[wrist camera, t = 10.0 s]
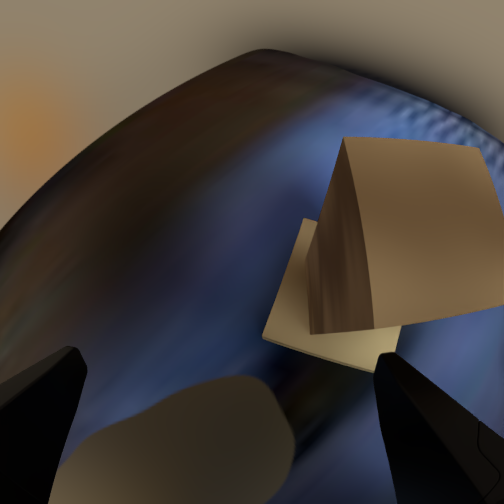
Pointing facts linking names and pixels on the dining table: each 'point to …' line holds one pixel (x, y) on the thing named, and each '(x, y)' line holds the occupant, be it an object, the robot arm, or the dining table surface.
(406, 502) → the robot arm
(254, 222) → the dining table surface
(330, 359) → the base block
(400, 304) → the column brick
